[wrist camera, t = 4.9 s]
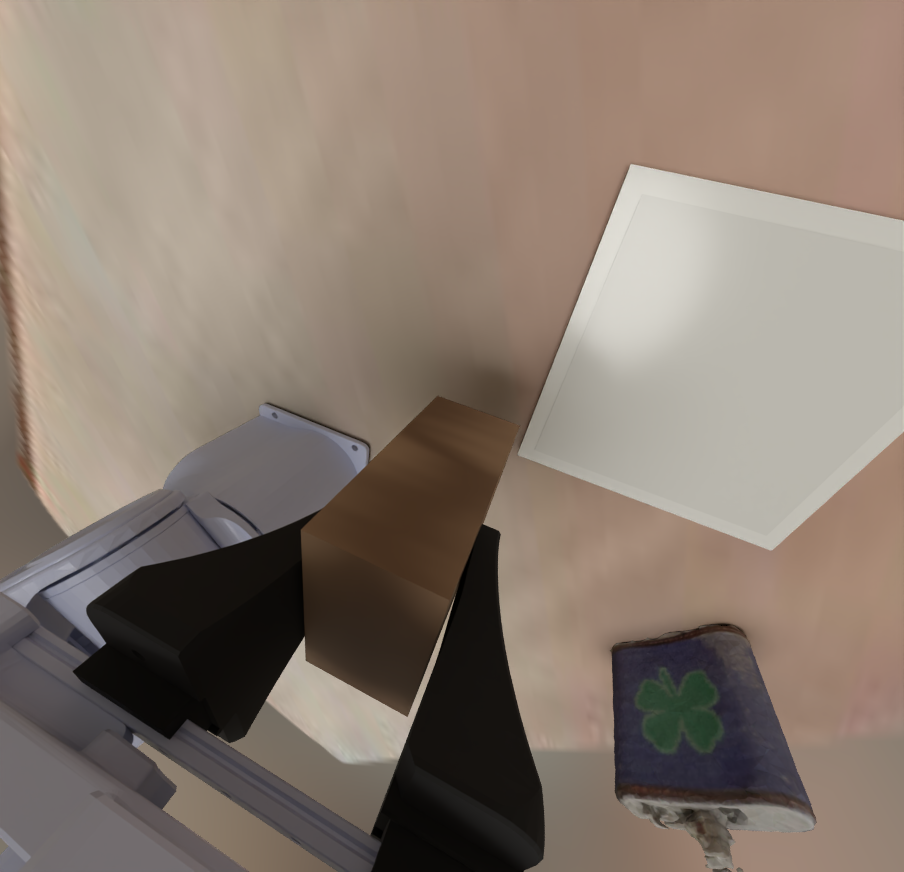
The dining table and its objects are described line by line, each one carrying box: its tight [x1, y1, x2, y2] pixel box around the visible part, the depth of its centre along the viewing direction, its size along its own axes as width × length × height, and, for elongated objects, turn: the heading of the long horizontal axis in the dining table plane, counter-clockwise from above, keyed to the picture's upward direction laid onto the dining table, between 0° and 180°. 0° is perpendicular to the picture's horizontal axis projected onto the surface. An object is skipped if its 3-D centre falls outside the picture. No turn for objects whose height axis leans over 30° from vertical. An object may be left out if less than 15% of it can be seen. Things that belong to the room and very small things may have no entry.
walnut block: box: [301, 396, 520, 717], centre depth 12 cm, size 4×6×8 cm, turn 167°
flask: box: [610, 625, 816, 872], centre depth 20 cm, size 9×3×11 cm, turn 136°
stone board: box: [518, 164, 904, 551], centre depth 16 cm, size 14×14×1 cm
